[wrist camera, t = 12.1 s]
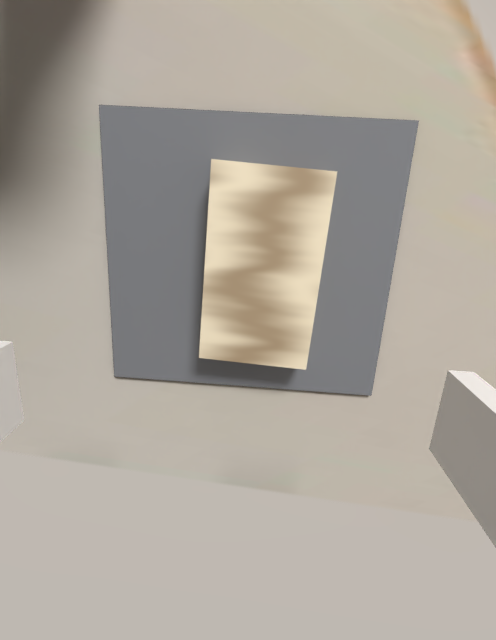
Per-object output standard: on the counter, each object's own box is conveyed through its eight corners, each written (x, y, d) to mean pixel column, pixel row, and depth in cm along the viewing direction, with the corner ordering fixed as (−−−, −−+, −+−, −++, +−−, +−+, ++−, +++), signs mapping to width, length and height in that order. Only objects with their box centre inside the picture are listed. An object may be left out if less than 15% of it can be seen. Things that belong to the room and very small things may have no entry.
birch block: (198, 357, 24) (211, 158, 21) (205, 344, 27) (217, 163, 23) (305, 369, 24) (337, 171, 20) (302, 355, 26) (330, 175, 23)
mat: (116, 374, 28) (114, 376, 28) (101, 105, 23) (99, 104, 22) (370, 393, 27) (371, 395, 27) (416, 121, 22) (418, 120, 22)
